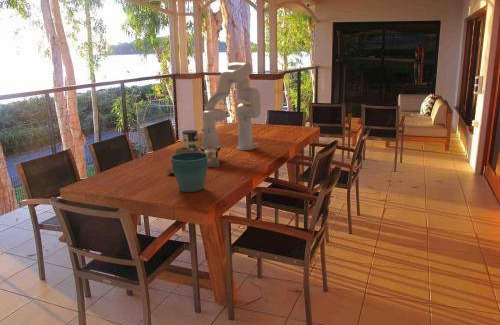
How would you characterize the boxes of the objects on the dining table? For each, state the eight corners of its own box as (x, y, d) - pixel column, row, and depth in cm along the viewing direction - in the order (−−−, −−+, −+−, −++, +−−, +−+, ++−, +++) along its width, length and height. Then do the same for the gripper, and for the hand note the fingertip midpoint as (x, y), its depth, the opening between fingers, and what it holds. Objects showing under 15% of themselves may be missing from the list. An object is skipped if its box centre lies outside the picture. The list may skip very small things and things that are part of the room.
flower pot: (189, 197, 208) (187, 162, 204) (165, 190, 220) (163, 157, 216) (216, 188, 221) (215, 155, 217) (192, 181, 233) (191, 150, 229)
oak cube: (215, 159, 269) (214, 149, 268) (216, 161, 264) (215, 151, 262) (205, 159, 268) (205, 150, 267) (206, 162, 263) (205, 152, 261)
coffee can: (200, 150, 307) (199, 130, 304) (195, 153, 298) (194, 132, 294) (186, 149, 309) (185, 129, 306) (181, 153, 300) (180, 132, 296)
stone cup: (199, 171, 253) (197, 145, 250) (191, 176, 242) (189, 150, 239) (174, 169, 257) (173, 144, 254) (165, 175, 246) (164, 149, 243)
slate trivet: (218, 162, 272) (218, 158, 272) (219, 166, 263) (219, 162, 262) (202, 163, 271) (202, 159, 270) (203, 167, 261) (202, 163, 261)
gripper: (196, 132, 271) (197, 160, 275) (223, 130, 273) (224, 158, 278) (195, 130, 278) (197, 157, 282) (222, 128, 280) (223, 156, 285)
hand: (210, 158), depth 280 cm, fingers closed on walnut cube, 6 cm apart
